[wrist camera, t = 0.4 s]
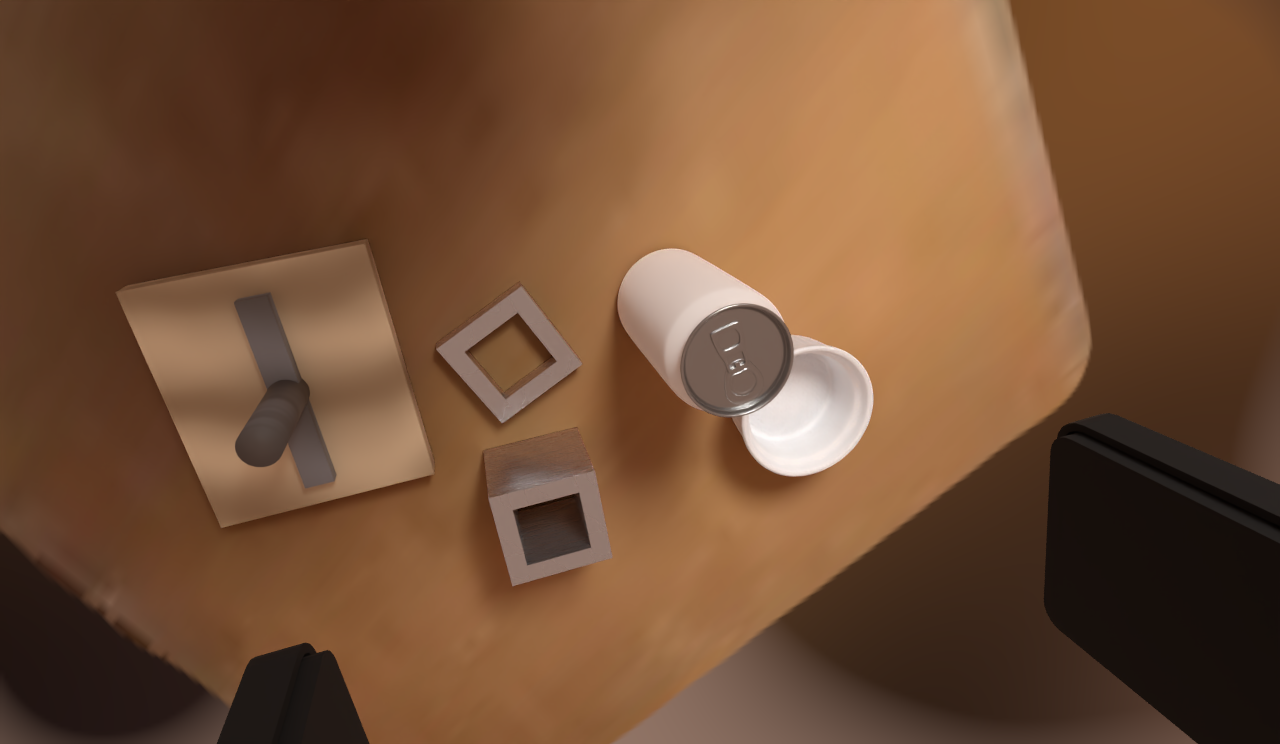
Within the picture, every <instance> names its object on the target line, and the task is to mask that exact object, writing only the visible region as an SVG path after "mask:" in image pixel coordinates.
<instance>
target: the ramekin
mask: <svg viewBox="0 0 1280 744" xmlns="http://www.w3.org/2000/svg"><path fill="white" fill-rule="evenodd" d="M791 337H792V341H793V347H794V359H793V365H792V369H791V372H790V375H789V377H788V380H787V382H786V383H785V385H784V387H783V388H782V390H781V391H780V392H779V394H778V395H777V396H776V397H775V398H774V399H773V400H772V401H771V402H770V403H768V404H767V405H766V406H764V407H763V408H761V409H759V410H757V411H755V412H753V413H751V414H748V415H745V416H740V417H732V420H733V422H734V423H735V425H736V427H737V429H738V430H739V432H740V433H741V435H742V437H743V440H744V442H745V445H746V447H747V449H748V450H749V452H750V454H751V455H752V456H753V458H754V459H755V460H756V461H757V462H758V463H759V464H760V465H762V466H763V467H764V468H766V469H767V470H769V471H771V472H774V473H776V474H780V475H784V476H792V477H794V476H807V475H811V474H814V473H817V472H820V471H823V470H825V469H827V468H829V467H831V466H832V465H834V464H836V463H837V462H839V461H840V460H841V459H842V458H844V457H845V456H846V455H847V454H848V453H849V452H850V451H851V450H852V449H853V448H854V447H855V446H856V445H857V443H858V442H859V440H860V439H861V437H862V435H863V434H864V432H865V430H866V428H867V425H868V423H869V420H870V417H871V413H872V408H873V390H872V384H871V381H870V378H869V376H868V373H867V371H866V370H865V368H864V367H863V366H862V364H861V363H860V362H859V361H858V360H857V359H856V358H855V357H853V356H852V355H851V354H849V353H847V352H846V351H843V350H841V349H839V348H836V347H832V346H828V345H825V344H823V343H821V342H819V341H817V340H814V339H811V338H809V337H804V336H800V335H791Z"/></svg>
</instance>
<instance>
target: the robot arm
mask: <svg viewBox="0 0 1280 744" xmlns="http://www.w3.org/2000/svg"><path fill="white" fill-rule="evenodd" d="M1048 500H1049V501H1048V521H1047V543H1046V565H1045V587H1044V605H1045V608H1046V611H1047V614H1048V616H1049V617H1050V620H1051V621H1052V622H1053V624H1054V625H1055V626H1056V627H1057V628H1058V629H1059V630H1060V631H1061V632H1062V633H1064V634H1065V635H1066V636H1067V637H1069V638H1070V639H1071V640H1072V641H1073V642H1075V643H1076V644H1077V645H1078V646H1080V647H1081V648H1082V649H1083V650H1084V651H1086V652H1087V653H1088V654H1089V655H1091V656H1092V657H1093V658H1094V659H1096V660H1097V661H1098V662H1099V663H1100V664H1102V665H1103V666H1104V667H1105V668H1106V669H1108V670H1109V671H1110V672H1111V673H1112V674H1114V675H1115V676H1116V677H1117V678H1119V679H1120V680H1121V681H1122V682H1123V683H1125V684H1126V685H1127V686H1128V687H1130V688H1131V689H1132V690H1133V691H1134V692H1136V693H1137V694H1138V695H1139V696H1141V697H1142V698H1143V699H1144V700H1145V701H1147V702H1148V703H1149V704H1150V705H1152V706H1153V707H1154V708H1155V709H1156V710H1158V711H1159V712H1160V713H1161V714H1162V715H1164V716H1165V717H1166V718H1167V719H1169V720H1170V721H1171V722H1172V723H1173V724H1175V725H1176V726H1177V727H1178V728H1180V729H1181V730H1182V731H1183V732H1184V733H1186V734H1187V735H1188V736H1189V737H1190V738H1192V739H1193V740H1194V741H1195V742H1196V743H1198V744H1280V485H1279V484H1277V483H1275V482H1272V481H1270V480H1268V479H1265V478H1263V477H1261V476H1258V475H1256V474H1254V473H1251V472H1248V471H1246V470H1244V469H1242V468H1239V467H1237V466H1235V465H1232V464H1230V463H1228V462H1225V461H1223V460H1220V459H1218V458H1216V457H1214V456H1211V455H1209V454H1207V453H1204V452H1202V451H1200V450H1197V449H1195V448H1193V447H1190V446H1188V445H1185V444H1183V443H1181V442H1178V441H1176V440H1174V439H1171V438H1169V437H1167V436H1164V435H1162V434H1160V433H1157V432H1155V431H1153V430H1150V429H1148V428H1146V427H1143V426H1141V425H1139V424H1136V423H1134V422H1131V421H1129V420H1127V419H1125V418H1122V417H1120V416H1117V415H1114V414H1110V413H1108V414H1100V415H1097V416H1093V417H1090V418H1086V419H1083V420H1079V421H1076V422H1073V423H1069V424H1067V425H1065V426H1063V427H1062V428H1061V430H1060V431H1059V433H1058V437H1057V439H1056V440H1055V441H1054V442H1053V444H1052V447H1051V455H1050V477H1049V499H1048ZM217 744H369V742H368V739H367V737H366V734H365V732H364V729H363V727H362V724H361V722H360V719H359V716H358V714H357V711H356V709H355V706H354V704H353V701H352V699H351V696H350V694H349V691H348V689H347V686H346V684H345V681H344V679H343V676H342V674H341V671H340V669H339V666H338V664H337V661H336V659H335V657H334V655H333V654H332V652H331V651H328V650H326V651H323V652H319V653H316V651H315V649H314V648H313V647H312V646H311V645H310V644H309V643H302V644H299V645H296V646H292V647H289V648H285V649H282V650H278V651H275V652H271V653H268V654H264V655H261V656H257V657H254V658H253V659H251V660H250V662H249V663H248V665H247V667H246V669H245V672H244V674H243V677H242V680H241V682H240V685H239V687H238V690H237V693H236V695H235V698H234V700H233V703H232V706H231V708H230V711H229V713H228V716H227V719H226V721H225V724H224V726H223V729H222V731H221V734H220V737H219V739H218V742H217Z"/></svg>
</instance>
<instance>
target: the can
mask: <svg viewBox="0 0 1280 744" xmlns="http://www.w3.org/2000/svg"><path fill="white" fill-rule="evenodd" d="M618 313H619V317H620V321H621V323H622V325H623V327H624V329H625V331H626V332H627V334H628V335H629V336H630V338H631V339H632V340H633V342H634V343H635V344H636V345H637V347H638V348H639V349H640V351H641V352H642V353H643V354H644V356H645V357H646V358H647V359H648V361H649V362H650V363H651V365H652V366H653V367H654V368H655V370H656V371H657V372H658V373H659V375H660V376H661V377H662V378H663V380H664V381H665V382H666V383H667V384H668V386H669V387H670V388H671V389H672V390H673V391H674V393H675V394H676V395H677V396H678V397H679V398H680V399H682V400H683V401H684V402H686V403H687V404H689V405H690V406H692V407H694V408H696V409H699V410H702V411H705V412H707V413H710V414H712V415H715V416H719V417H740V416H745V415H748V414H751V413H753V412H755V411H757V410H759V409H761V408H763V407H764V406H766V405H767V404H768V403H770V402H771V401H772V400H773V399H774V398H775V397H776V396H777V395H778V394H779V392H780V391H781V390H782V388H783V387H784V385H785V383H786V382H787V380H788V377H789V375H790V372H791V369H792V365H793V359H794V347H793V341H792V337H791V334H790V332H789V330H788V328H787V326H786V325H785V323H784V321H783V318H782V316H781V315H780V313H779V311H778V310H777V308H776V307H775V306H774V305H773V304H772V303H771V302H770V301H769V300H768V299H767V298H766V297H764V296H763V295H762V294H760V293H759V292H757V291H756V290H754V289H752V288H751V287H749V286H748V285H746V284H744V283H743V282H741V281H739V280H738V279H736V278H734V277H733V276H731V275H729V274H728V273H726V272H724V271H723V270H721V269H719V268H718V267H716V266H714V265H713V264H711V263H709V262H707V261H706V260H704V259H702V258H701V257H699V256H697V255H695V254H693V253H691V252H688V251H685V250H681V249H662V250H658V251H655V252H652V253H650V254H648V255H646V256H644V257H643V258H641V259H640V260H639V261H637V262H636V263H635V264H634V265H633V266H632V267H631V268H630V270H629V271H628V272H627V274H626V275H625V277H624V279H623V281H622V283H621V286H620V289H619V293H618Z"/></svg>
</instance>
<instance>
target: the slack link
mask: <svg viewBox="0 0 1280 744" xmlns="http://www.w3.org/2000/svg"><path fill="white" fill-rule="evenodd" d="M517 313H518V314H519V315H520V316H521V317H522V319H523V320H524V321H525V322H526V324H527V325H528V326H529V327H530V329H531V330H532V331H533V332H534V334H535V335H536V336H537V337H538V339H539V340H540V341H541V342H542V344H543V345H544V346H545V347H546V349H547V350H548V351H549V352H550V354H551V355H552V357H551V358H550V359H548V360H547V361H546V362H544V363H543V364H542V365H540V366H539V367H538V368H536V369H535V370H533V371H532V372H531V373H529V374H528V375H527V376H525V377H524V378H523V379H521V380H520V381H519V382H517V383H516V384H515V385H513V386H512V387H510V388H509V389H508V390H506V391H505V392H503V390H502V389H501V388H500V387H499V386H498V385H497V384H496V382H495V381H494V380H493V379H492V378H491V377H490V375H489V374H488V373H487V372H486V371H485V370H484V369H483V367H482V366H481V365H480V364H479V363H478V362H477V360H476V359H475V358H474V357H473V356H472V355H471V353H470V352H469V351H468V349H469V348H471V347H472V346H473V345H475V344H476V343H477V342H479V341H480V340H481V339H483V338H484V337H486V336H487V335H488V334H490V333H491V332H492V331H494V330H495V329H496V328H498V327H499V326H500V325H502V324H503V323H504V322H506V321H507V320H508V319H510V318H511V317H513V316H514V315H515V314H517ZM436 350H437V351H438V352H439V353H440V354H441V355H442V356H443V358H444V359H445V360H446V361H447V362H448V363H449V364H450V365H451V367H452V368H453V369H454V370H455V371H456V372H457V373H458V374H459V376H460V377H461V378H462V379H463V380H464V381H465V382H466V383H467V385H468V386H469V387H470V388H471V389H472V390H473V391H474V392H475V394H476V395H477V396H478V397H479V398H480V399H481V400H482V401H483V403H484V404H485V405H486V406H487V407H488V408H489V409H490V410H491V412H492V413H493V414H494V415H495V416H496V417H497V418H498V419H499V421H500V422H501V423H504V422H505V421H506V420H508V419H509V418H510V417H512V416H513V415H514V414H516V413H517V412H518V411H520V410H521V409H523V408H524V407H525V406H527V405H528V404H529V403H531V402H532V401H533V400H535V399H536V398H537V397H539V396H540V395H541V394H543V393H544V392H546V391H547V390H548V389H550V388H551V387H552V386H554V385H555V384H556V383H558V382H559V381H560V380H562V379H563V378H564V377H566V376H567V375H569V374H570V373H571V372H573V371H574V370H575V369H577V368H578V367H579V366H581V365H582V362H581V360H580V358H579V357H578V356H577V354H576V353H575V352H574V351H573V349H572V348H571V347H570V345H569V344H568V343H567V342H566V340H565V339H564V338H563V336H562V335H561V334H560V333H559V331H558V330H557V329H556V328H555V326H554V325H553V324H552V322H551V321H550V320H549V319H548V317H547V316H546V315H545V313H544V312H543V311H542V310H541V308H540V307H539V306H538V304H537V303H536V302H535V301H534V299H533V298H532V297H531V296H530V294H529V293H528V292H527V290H526V289H525V288H524V287H523V285H522V284H521V283H520V281H519V282H518V283H517V284H515V285H514V286H513V287H511V288H510V289H509V290H507V291H506V292H505V293H503V294H502V295H500V296H499V297H498V298H496V299H495V300H494V301H492V302H491V303H490V304H488V305H487V306H486V307H484V308H483V309H482V310H480V311H479V312H478V313H476V314H475V315H473V316H472V317H471V318H469V319H468V320H467V321H465V322H464V323H463V324H461V325H460V326H459V327H457V328H456V329H455V330H453V331H452V332H451V333H449V334H448V335H446V336H445V337H444V338H442V339H441V340H440V341H438V342H437V343H436Z"/></svg>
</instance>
